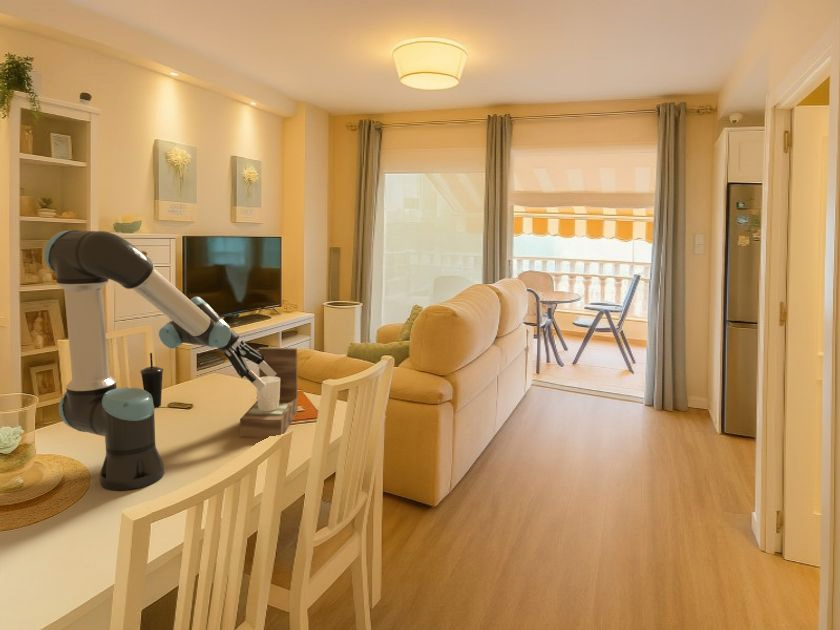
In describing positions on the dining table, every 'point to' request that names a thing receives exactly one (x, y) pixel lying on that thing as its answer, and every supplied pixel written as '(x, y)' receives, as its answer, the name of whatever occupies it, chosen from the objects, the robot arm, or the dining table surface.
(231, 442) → the dining table surface
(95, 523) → the dining table surface
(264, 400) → the white cup
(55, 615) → the dining table surface
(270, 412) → the walnut shelf
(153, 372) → the drinking cup
